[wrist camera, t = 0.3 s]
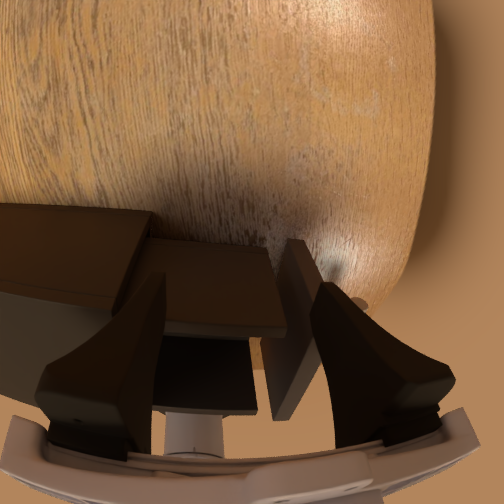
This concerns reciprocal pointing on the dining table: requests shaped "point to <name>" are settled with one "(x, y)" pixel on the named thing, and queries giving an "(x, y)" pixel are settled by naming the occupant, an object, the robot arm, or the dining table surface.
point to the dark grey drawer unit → (59, 282)
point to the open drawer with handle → (231, 325)
